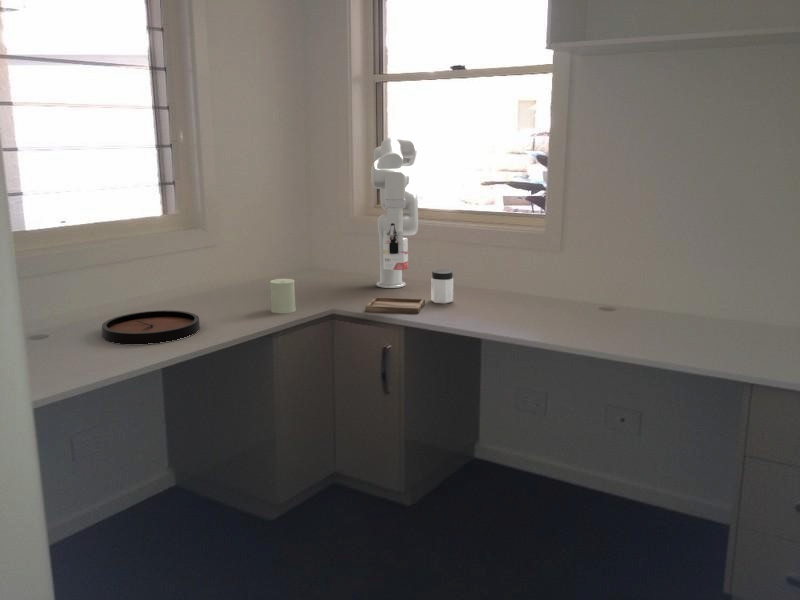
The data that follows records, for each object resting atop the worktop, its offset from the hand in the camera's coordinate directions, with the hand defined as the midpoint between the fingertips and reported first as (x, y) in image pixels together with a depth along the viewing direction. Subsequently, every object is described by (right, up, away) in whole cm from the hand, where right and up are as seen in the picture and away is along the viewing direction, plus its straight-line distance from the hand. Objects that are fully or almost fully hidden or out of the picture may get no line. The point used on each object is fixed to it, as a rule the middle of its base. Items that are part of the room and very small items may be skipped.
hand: (395, 251), depth 276 cm
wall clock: (-83, -30, -27) cm, 92 cm away
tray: (0, -21, +5) cm, 22 cm away
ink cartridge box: (0, -7, +2) cm, 7 cm away
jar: (+18, -19, +15) cm, 31 cm away
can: (-42, -22, +1) cm, 48 cm away
